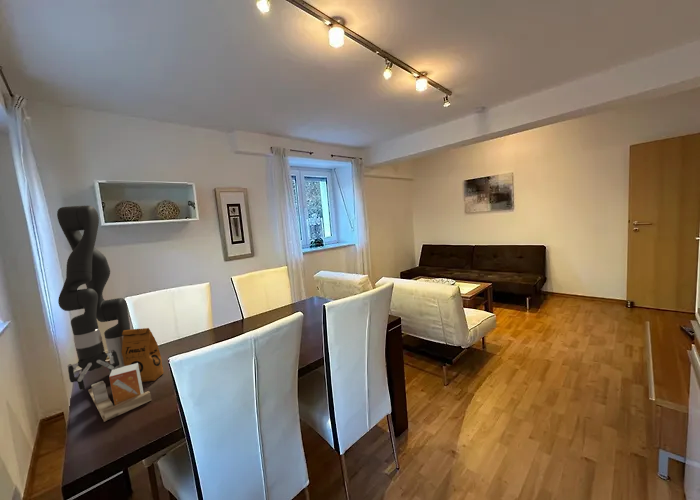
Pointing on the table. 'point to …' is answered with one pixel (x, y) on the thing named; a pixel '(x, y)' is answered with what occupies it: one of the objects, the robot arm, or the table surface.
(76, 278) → the robot arm
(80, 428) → the table surface
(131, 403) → the hooked slat
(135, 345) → the coffee package
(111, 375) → the small box
